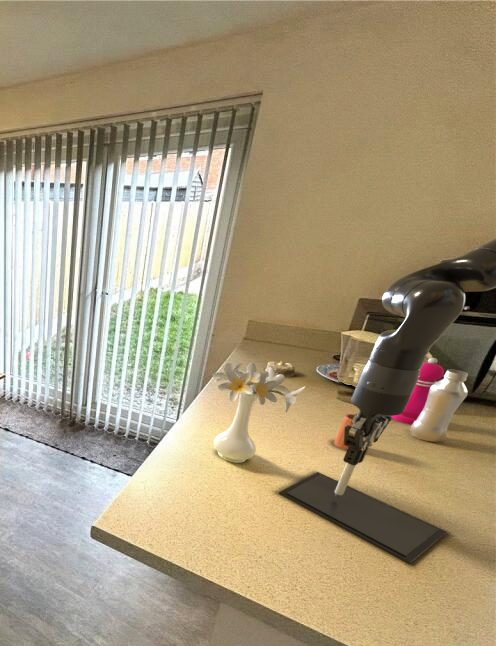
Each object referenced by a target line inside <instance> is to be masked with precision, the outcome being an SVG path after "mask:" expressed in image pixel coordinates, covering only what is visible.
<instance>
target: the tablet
mask: <svg viewBox="0 0 496 646" xmlns="http://www.w3.org/2000/svg"><path fill="white" fill-rule="evenodd" d="M338 482H339V480H336V479H334V478H332V477H329V476H327V475H325V474H323V473H321V472H318V471H317V472H315V473H313V474H311V475H309V476H307V477H306V478H303V479H301V480H299V481H298V482H296V483H294V484H292V485H290V486H288V487H285V488H284V489H282V490H281V491H279V492H278V495H280V496H282V497H284V498H285V499H287V500H288V501H290V502H293V503H295V504H297V505H298V506H300V507H301V508H303V509H306V510H307V511H309V512H311V513H314V514H315V515H317V516H318V517H320V518H322V519H324V520H326V521H328V522H329V523H331V524H332V525H335V526H337V527H339V528H341V529H342V530H344V531H346V532H349V533H351V535H353V536H355V537H357V538H359V539H361V540H363V541H364V542H367V543H368V544H370V545H372V546H374V547H376V548H378V549H380V550H382V551H383V552H385V553H387V554H389V555H391V556H393V557H394V558H396V559H398V560H400V561H402V562H404V563H406V564H407V565H411V564H412V563H413V562H414V561H415V560H417V559H418V558H419V557H420V556H422V554H424V553H425V552H426V551H427V550H429V549H430V548H431V547H432V546H433V545H435V544H436V543H437V542H438V541H440V540H441V538H443V537H444V536H445V535H446V534H447V533H448V531H446V530H444V529H442V528H440V527H438V526H436V525H433V524H431V523H429V522H427V521H425V520H422V519H420V518H418V517H416V516H415V515H412V514H409V513H408V512H405V511H404V510H401V509H399V508H396V507H395V506H393V505H391V504H389V503H386V502H384V501H381V500H380V499H378V498H375V497H373V496H371V495H368V494H366V493H364V492H362V491H360V490H357V489H356V488H353V487H351V486H349V485H347V486H346V489H345V491H344V493H343V495H341V496H340V497H339V498H338V497H336V496H335V494H336V493H335V489H336V487H337V485H338Z"/></svg>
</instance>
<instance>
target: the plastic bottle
mask: <svg viewBox="0 0 496 646" xmlns="http://www.w3.org/2000/svg"><path fill="white" fill-rule="evenodd" d="M468 376H469V373H468V372H466V371H463V370H459V369H452V368H451V369H450V368H449V369H447V370H446V371H445V372H444V374H443V378H441V379H439V380H437V382H436V383H434V384H433V385H432V386H431V387H430V391H429V394H428V398H427V401H426V404H425V406H424V408H423V410H422V412H421V413H420V415H419V416H418V418H417V419H416V420H415V421H414V423H413V424H410V428H409V432H410V434H411V436H413V437H415V438H416V439H419V440H421V441H426V442H431V443H439V442H441V441H443V439H445V437H446V436H447V434H448V429H449V428H448V427H449V425H450V422H451V420H452V417H453V415H454V414H455V412H456V411H457V409H458V408H459V407H460V405H461V404H462V403H463V401H464V400H466V398H467V397H468V389H467V386H466V384H465V383H464V382H466V381H467V378H468Z"/></svg>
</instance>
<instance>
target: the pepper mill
mask: <svg viewBox="0 0 496 646" xmlns="http://www.w3.org/2000/svg"><path fill="white" fill-rule="evenodd" d="M437 363H438V359H437V358H435V357H431V358H429V359H428V360H427V362H425V361H424V364H423V366H422V368H421V370H420V374H419V378H418V381H417V384H416V386H415V388H414V390H413V392H412V394H411V397H410V399H409V401H408V403H407V405H406V408H405V410H404V412H403V413H402V414H400V415H396V416H390V417H392V419H393V420H395V421H397V422H400V423H403V424H406V425H412V424H413V423H414V421H415V420H416V419H417V418H418V416H419V415H420V413H421V412H422V410H423V408H424V406H425V404H426V401H427V398H428V394H429V391H430V387H431V386H432V385H433V384H434V383H436V382H438V381H439V380H441V379H442V378H443V377H444V374H445V369H444V368H443V366H441V365H440V364H437Z"/></svg>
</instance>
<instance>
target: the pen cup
mask: <svg viewBox="0 0 496 646" xmlns="http://www.w3.org/2000/svg"><path fill="white" fill-rule="evenodd" d="M355 414H356V413H355ZM355 414H354V413H345V414H344V416H343V418H342V420H341V424H340V426H339V428H338V431H337V434H336V436H335V437H334V438H335V439H334V441H333V444H334V446H335V447H338V448H339V449H341V450H345V451H347V449H348V446H346V445H344V431H345V427H346V426H347V425H349V426H352V424H353V422H352V420H353V418H354V416H355Z"/></svg>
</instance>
